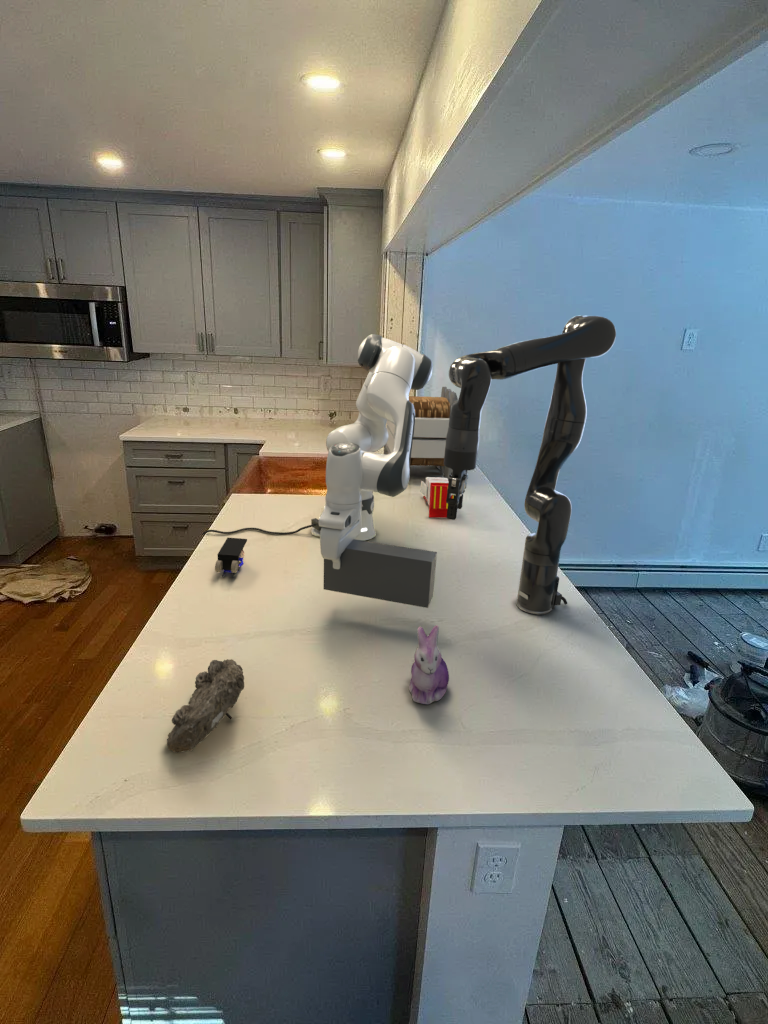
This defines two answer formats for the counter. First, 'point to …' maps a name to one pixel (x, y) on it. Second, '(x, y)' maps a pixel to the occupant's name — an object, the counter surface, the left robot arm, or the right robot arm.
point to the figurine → (428, 669)
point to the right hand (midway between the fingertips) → (454, 513)
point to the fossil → (206, 705)
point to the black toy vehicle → (230, 556)
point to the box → (384, 573)
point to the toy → (436, 496)
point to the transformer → (428, 430)
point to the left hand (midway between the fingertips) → (342, 561)
